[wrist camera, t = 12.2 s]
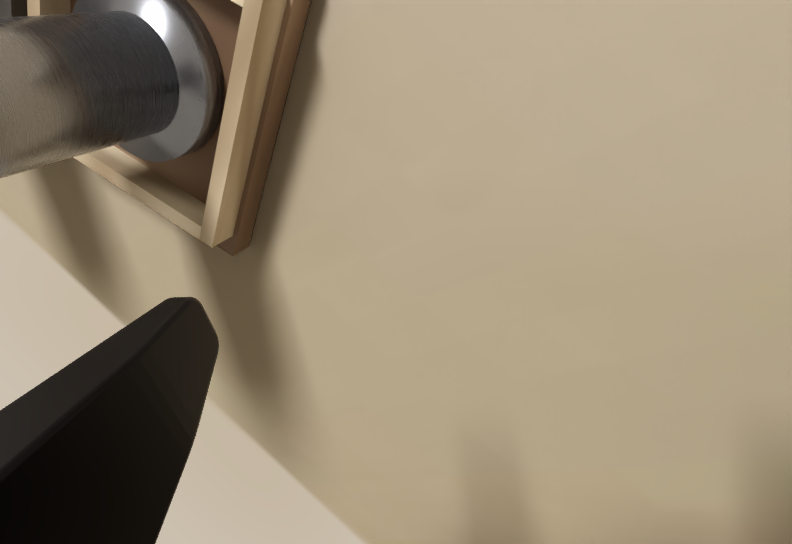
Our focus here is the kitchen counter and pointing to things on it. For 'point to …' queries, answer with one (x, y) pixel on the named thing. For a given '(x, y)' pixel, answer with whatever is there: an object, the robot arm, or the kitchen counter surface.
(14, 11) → the pin board
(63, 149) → the grey cylindrical piece
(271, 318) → the kitchen counter surface
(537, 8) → the kitchen counter surface
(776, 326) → the kitchen counter surface
